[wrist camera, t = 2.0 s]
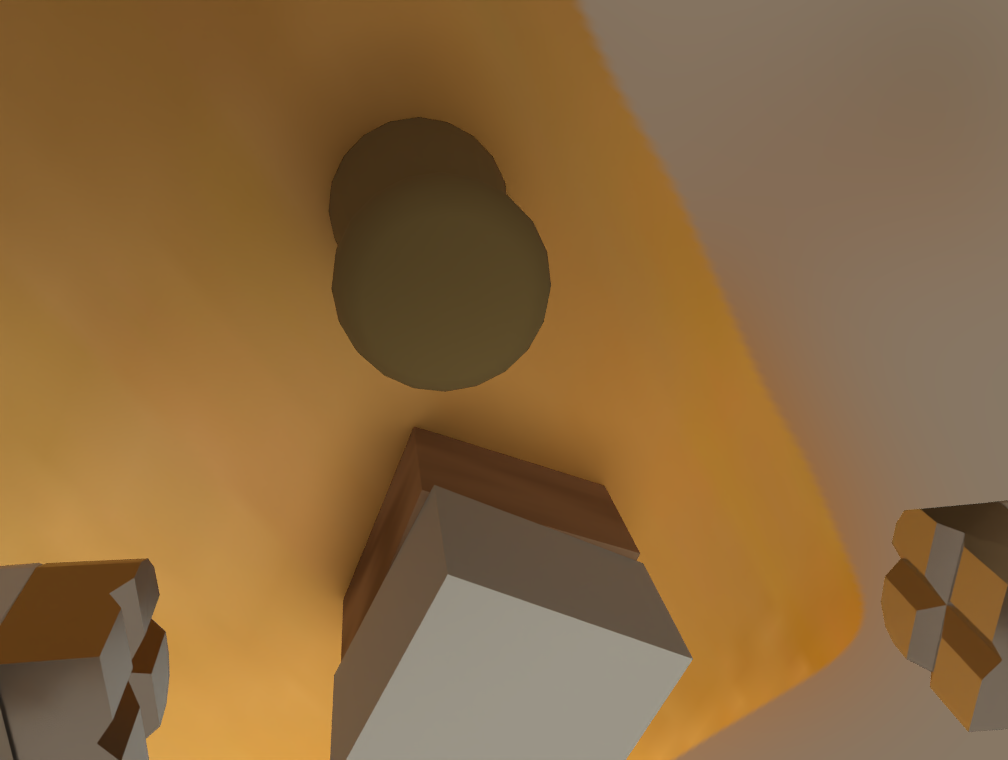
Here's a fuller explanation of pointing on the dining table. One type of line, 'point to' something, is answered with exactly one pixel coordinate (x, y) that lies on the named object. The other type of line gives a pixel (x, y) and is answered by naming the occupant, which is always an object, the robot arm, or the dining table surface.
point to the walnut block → (487, 481)
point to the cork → (433, 257)
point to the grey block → (504, 646)
